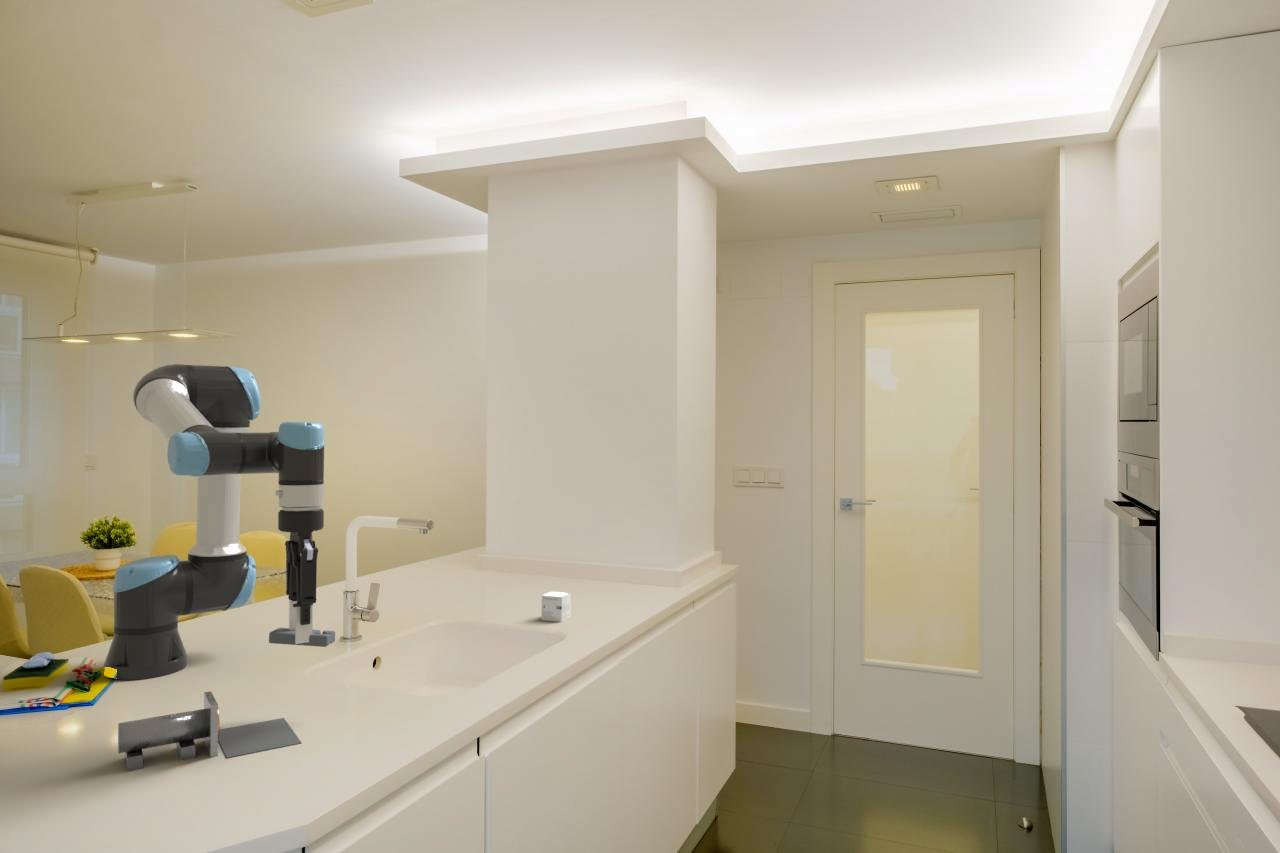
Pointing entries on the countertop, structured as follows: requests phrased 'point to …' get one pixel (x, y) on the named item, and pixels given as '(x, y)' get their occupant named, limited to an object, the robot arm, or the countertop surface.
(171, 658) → the robot arm
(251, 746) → the mount pad
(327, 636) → the bracket
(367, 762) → the countertop surface
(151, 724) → the pipe fixture
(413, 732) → the countertop surface
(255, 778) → the countertop surface
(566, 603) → the skincare box
